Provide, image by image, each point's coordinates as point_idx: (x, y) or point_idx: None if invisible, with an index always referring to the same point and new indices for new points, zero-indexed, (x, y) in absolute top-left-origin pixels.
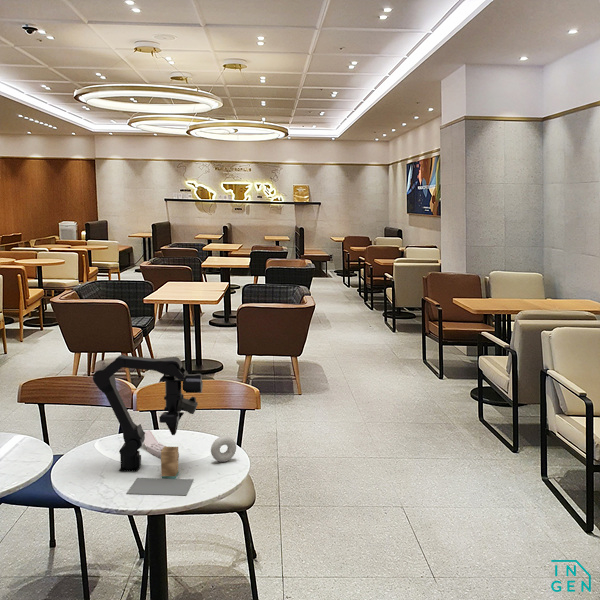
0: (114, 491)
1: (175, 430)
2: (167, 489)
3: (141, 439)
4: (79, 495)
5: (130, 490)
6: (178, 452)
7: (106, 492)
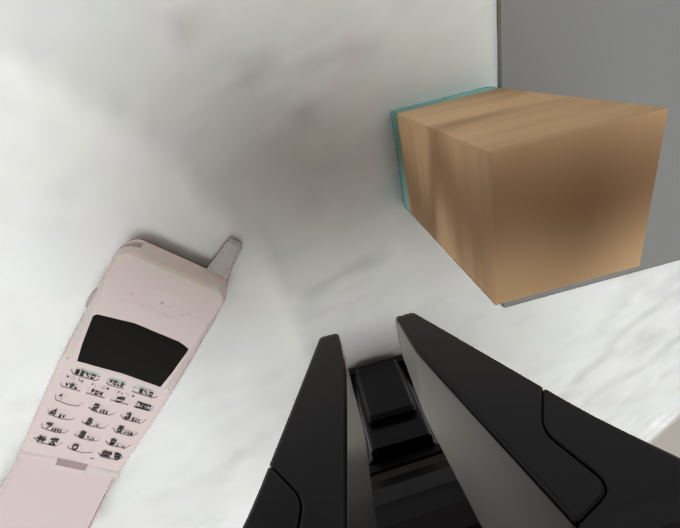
0: (647, 316)
1: (473, 348)
2: (675, 54)
3: (471, 521)
4: (669, 401)
5: (661, 255)
6: (116, 260)
7: (654, 338)
